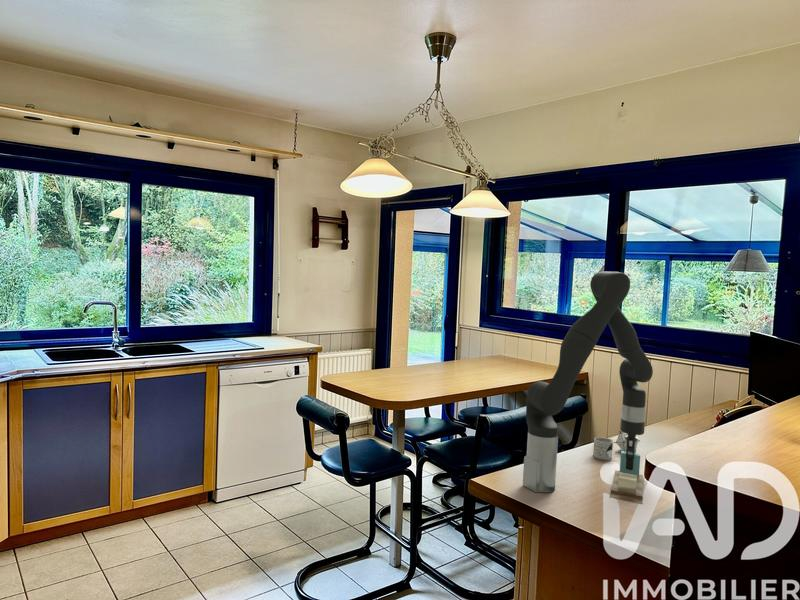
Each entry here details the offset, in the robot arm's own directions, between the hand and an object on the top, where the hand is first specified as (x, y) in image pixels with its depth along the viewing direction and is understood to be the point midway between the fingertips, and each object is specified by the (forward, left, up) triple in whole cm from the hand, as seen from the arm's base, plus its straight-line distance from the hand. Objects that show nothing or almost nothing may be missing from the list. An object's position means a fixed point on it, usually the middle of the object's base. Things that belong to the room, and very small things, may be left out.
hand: (629, 465), depth 177 cm
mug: (+10, +19, -4) cm, 22 cm away
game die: (+23, +19, -4) cm, 30 cm away
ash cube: (-15, -11, -3) cm, 18 cm away
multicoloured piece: (-10, -7, -4) cm, 13 cm away
